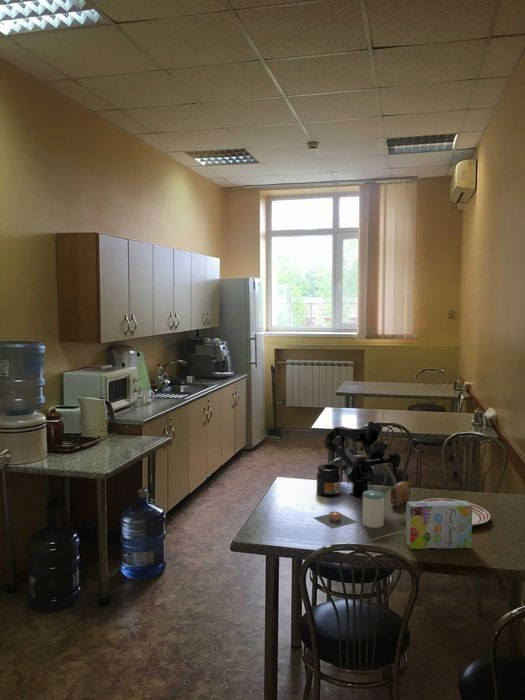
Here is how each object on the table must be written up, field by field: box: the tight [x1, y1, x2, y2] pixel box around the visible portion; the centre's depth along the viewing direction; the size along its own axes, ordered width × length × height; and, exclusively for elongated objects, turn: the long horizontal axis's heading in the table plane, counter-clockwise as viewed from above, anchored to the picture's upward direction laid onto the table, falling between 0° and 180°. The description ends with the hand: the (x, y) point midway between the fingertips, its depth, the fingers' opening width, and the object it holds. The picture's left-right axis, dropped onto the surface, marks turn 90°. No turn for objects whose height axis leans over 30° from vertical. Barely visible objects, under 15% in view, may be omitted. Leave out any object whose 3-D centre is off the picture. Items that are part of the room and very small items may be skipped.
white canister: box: [361, 489, 385, 529], centre depth 211 cm, size 8×8×12 cm
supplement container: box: [315, 463, 342, 498], centre depth 245 cm, size 10×10×12 cm
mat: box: [313, 513, 358, 530], centre depth 215 cm, size 12×12×1 cm
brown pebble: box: [328, 510, 342, 522], centre depth 215 cm, size 4×4×2 cm
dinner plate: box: [421, 497, 491, 526], centre depth 219 cm, size 28×27×3 cm
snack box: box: [405, 500, 473, 550], centre depth 193 cm, size 21×6×15 cm, turn 92°
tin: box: [390, 480, 411, 507], centre depth 235 cm, size 15×3×8 cm, turn 143°
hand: (385, 477), depth 222 cm, fingers open, 9 cm apart
